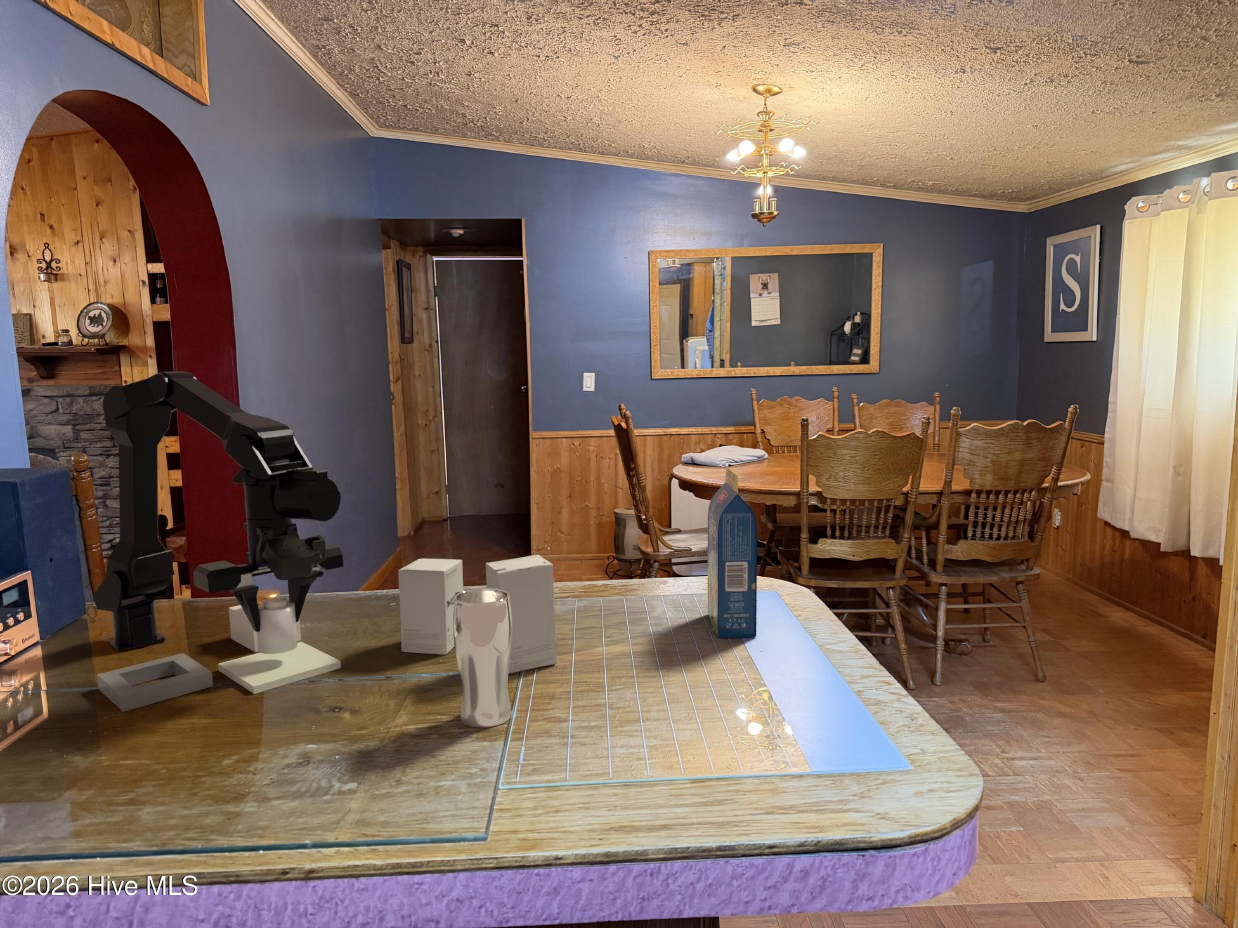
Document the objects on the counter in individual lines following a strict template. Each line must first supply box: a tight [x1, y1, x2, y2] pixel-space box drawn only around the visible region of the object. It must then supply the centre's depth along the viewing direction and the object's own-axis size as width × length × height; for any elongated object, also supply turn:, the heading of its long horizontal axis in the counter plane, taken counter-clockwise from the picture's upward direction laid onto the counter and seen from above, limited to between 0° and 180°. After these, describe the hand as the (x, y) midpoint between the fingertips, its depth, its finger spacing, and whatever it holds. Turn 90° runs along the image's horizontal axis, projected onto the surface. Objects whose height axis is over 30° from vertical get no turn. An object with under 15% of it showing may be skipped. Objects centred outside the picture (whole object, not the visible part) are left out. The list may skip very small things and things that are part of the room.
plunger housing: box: [228, 604, 302, 653], centre depth 126 cm, size 9×7×5 cm
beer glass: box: [453, 587, 513, 729], centre depth 97 cm, size 7×7×15 cm
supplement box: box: [397, 558, 464, 655], centre depth 122 cm, size 7×7×13 cm
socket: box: [96, 652, 214, 712], centre depth 108 cm, size 11×11×2 cm
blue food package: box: [707, 465, 758, 639], centre depth 128 cm, size 6×12×25 cm, turn 1°
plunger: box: [257, 589, 281, 605], centre depth 126 cm, size 5×5×6 cm
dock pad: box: [217, 641, 342, 695], centre depth 114 cm, size 12×12×1 cm
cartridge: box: [257, 596, 298, 654], centre depth 113 cm, size 5×5×7 cm
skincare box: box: [485, 554, 558, 675], centre depth 113 cm, size 8×6×15 cm
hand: (276, 626), depth 113 cm, fingers closed on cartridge, 5 cm apart
